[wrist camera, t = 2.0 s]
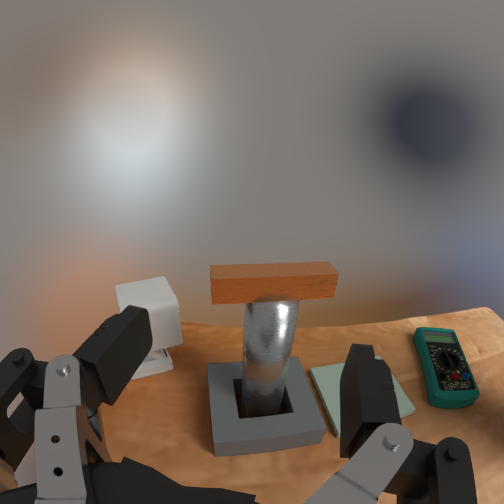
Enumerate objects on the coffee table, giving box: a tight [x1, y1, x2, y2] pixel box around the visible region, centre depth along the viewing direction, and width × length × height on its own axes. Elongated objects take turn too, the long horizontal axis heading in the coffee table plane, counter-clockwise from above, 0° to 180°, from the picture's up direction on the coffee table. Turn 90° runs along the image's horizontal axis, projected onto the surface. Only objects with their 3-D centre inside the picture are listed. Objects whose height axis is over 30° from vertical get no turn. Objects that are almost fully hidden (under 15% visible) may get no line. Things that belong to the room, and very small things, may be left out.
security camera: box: [115, 276, 183, 380], centre depth 32 cm, size 6×7×10 cm
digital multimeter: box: [413, 327, 480, 409], centre depth 31 cm, size 7×15×3 cm, turn 166°
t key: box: [210, 262, 339, 419], centre depth 24 cm, size 9×4×17 cm, turn 99°
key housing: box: [207, 357, 327, 457], centre depth 27 cm, size 10×10×3 cm
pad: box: [309, 356, 416, 438], centre depth 29 cm, size 10×10×1 cm
